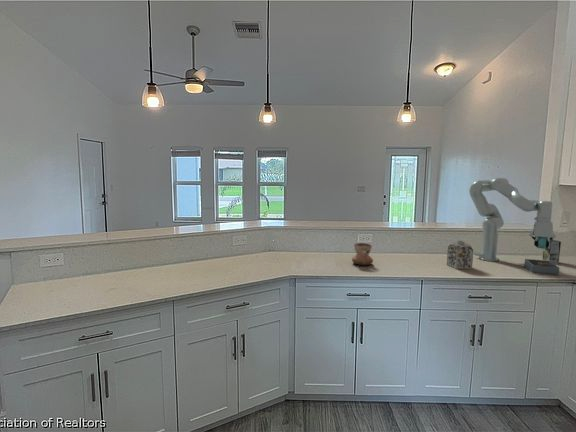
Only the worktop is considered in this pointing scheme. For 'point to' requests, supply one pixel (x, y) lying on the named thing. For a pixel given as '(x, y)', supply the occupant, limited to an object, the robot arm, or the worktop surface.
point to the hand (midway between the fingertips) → (541, 246)
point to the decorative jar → (460, 255)
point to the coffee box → (552, 252)
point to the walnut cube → (542, 264)
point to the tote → (541, 267)
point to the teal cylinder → (542, 242)
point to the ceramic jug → (362, 254)
